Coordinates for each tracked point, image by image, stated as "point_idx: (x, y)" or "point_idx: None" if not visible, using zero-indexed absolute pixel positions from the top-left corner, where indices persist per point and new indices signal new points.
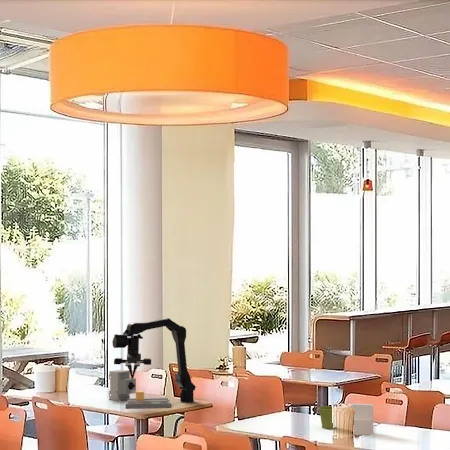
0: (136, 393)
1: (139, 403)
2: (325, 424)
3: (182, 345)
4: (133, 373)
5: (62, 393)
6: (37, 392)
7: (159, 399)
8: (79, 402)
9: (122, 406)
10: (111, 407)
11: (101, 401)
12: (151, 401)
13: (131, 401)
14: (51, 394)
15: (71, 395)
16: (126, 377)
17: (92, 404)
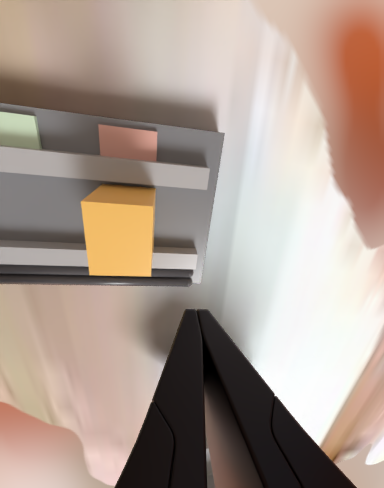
0: (148, 202)
1: (129, 127)
2: None
3: None
4: (188, 372)
5: (334, 439)
6: (375, 445)
7: (5, 243)
8: (355, 328)
9: (226, 209)
10: (284, 185)
11: (282, 341)
12: (38, 149)
13: (185, 165)
14: (361, 429)
15: (326, 421)
16: (207, 482)
17: (332, 284)
